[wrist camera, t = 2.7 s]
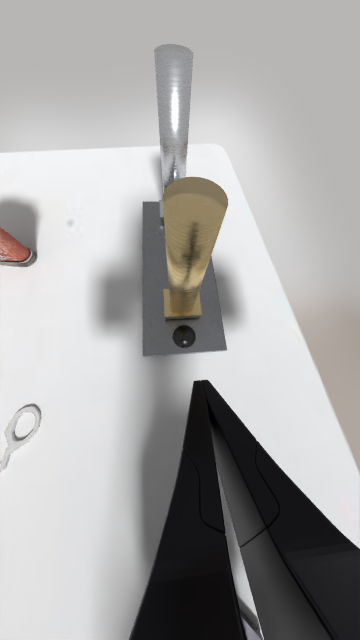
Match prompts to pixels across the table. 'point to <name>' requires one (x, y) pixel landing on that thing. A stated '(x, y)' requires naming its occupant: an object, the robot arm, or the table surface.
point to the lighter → (14, 252)
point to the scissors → (10, 436)
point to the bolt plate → (173, 131)
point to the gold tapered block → (190, 240)
